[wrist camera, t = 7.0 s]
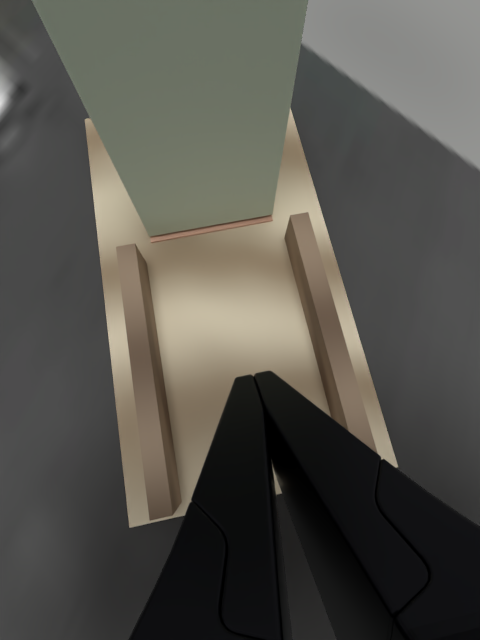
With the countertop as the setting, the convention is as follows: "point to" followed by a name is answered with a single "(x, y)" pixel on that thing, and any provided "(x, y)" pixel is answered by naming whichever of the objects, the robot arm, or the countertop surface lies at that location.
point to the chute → (221, 327)
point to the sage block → (185, 99)
